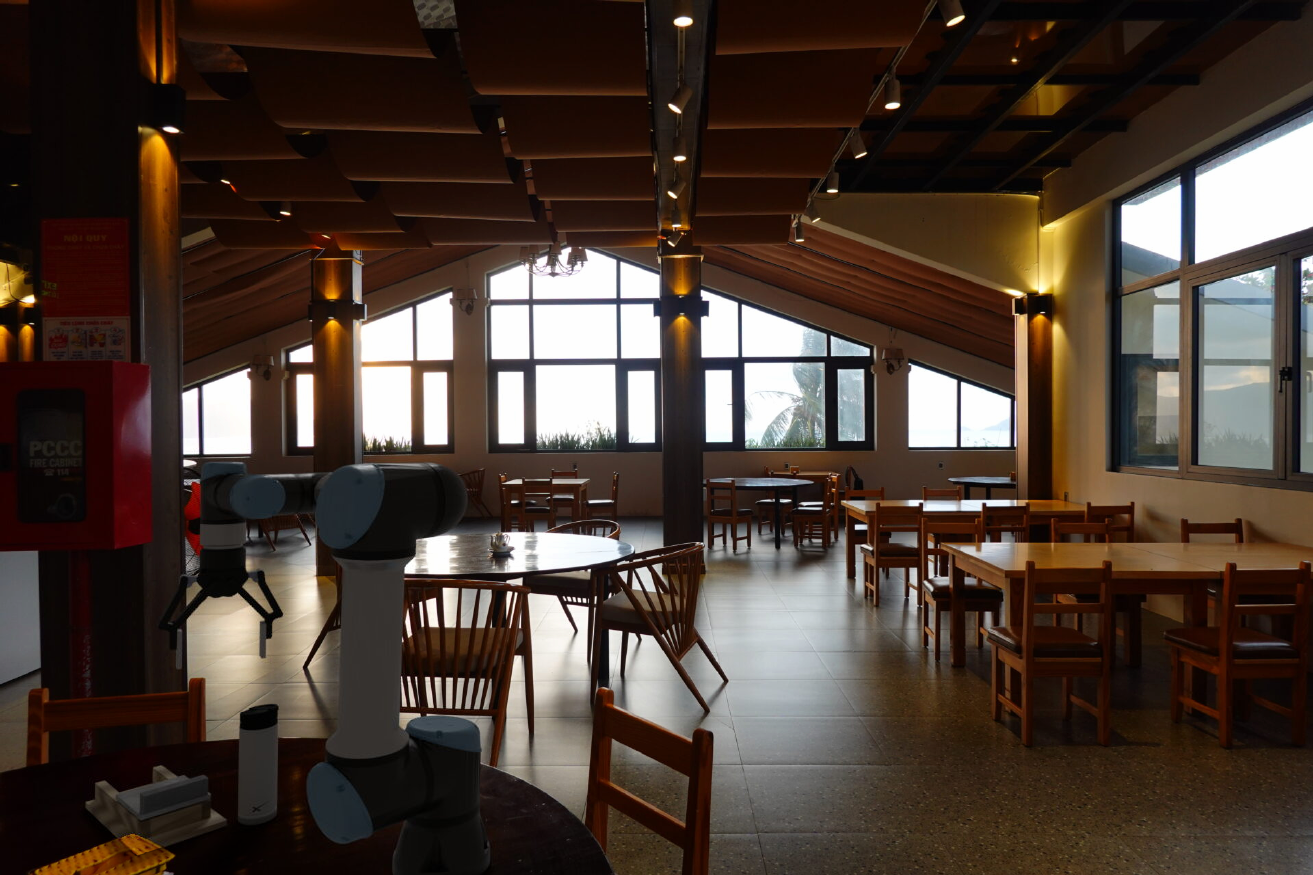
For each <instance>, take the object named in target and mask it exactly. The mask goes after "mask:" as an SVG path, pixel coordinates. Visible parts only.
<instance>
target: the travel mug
mask: <svg viewBox="0 0 1313 875" xmlns="http://www.w3.org/2000/svg"><path fill="white" fill-rule="evenodd" d="M279 709H280V706H279V705H278V704H276V703H267V704H266V703H264V704H259V705H255V706H252V707H249V708H248V709H245V710H244V711H240V713H239V728H238V733H239V734H238V737H239V738H238V787H237V788H238V790H237V791H238V792H237V793H238V794H237V795H238V797H237V800H238V801H237V802H238V803H237V821H238V823H240V824H241V825H243V826H257V825H262V824H265V823H268V822H269V821H271V820H273V819H274V818H275V817H276V816H277V814H278V813H277V812H278V806H277V805H278V765H279V764H278V763H279V761H278V756H279V753H278V752H279V751H278V748H279V746H278V745H279V719H278V717H279Z"/></svg>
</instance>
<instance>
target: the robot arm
mask: <svg viewBox="0 0 1313 875" xmlns="http://www.w3.org/2000/svg"><path fill="white" fill-rule="evenodd" d="M200 469H201V470H200V471H201V472H200V480H199V487H200V490H199V491H200V493H199V494H200V498H199V499H200V501H199V504H200V505H199V506H200V507H199V508H200V509H199V510H200V512H199V513H200V518H199V519H200V520H199V522H200V523H199V544H200V545H201V546H202V547H201V548H200V549H199V571H198V573H197V575H187V574H184V573H182V574H180V576H179V578H178V583H177V584H178V585H177V588H176V589H175V591H174V593H173V594H172V597H171V598H170V600H169V602H168V604H167V606H166V607H165V609H164V610H163V612H162V615H160V616H161V617H160V618H159V619H158V622H157V629H158V630H160V631H166V632H168V648H169V650H170V651H175V667H176V668H175V669H176V670H181V669H183V630H182V629H181V626H182V625H183V624H185V622H186V621H187V620H188V619H189V618H190V617H191V616H192V615H193V614H194V612H195V611H196V610H197V609H198V608H199V607H200V606H201V604H203V603H204V602H205V601H206V600H207V599H208V598H213V599H219V598H222V597H226V598H233V597H234V596H236V595H237V594H238V595H239V596H240V597H241V598H242V599H244V601H245V602H246V603H247V604H249V606H250V607H251V608H253V610H254V611H255V612H256V613H258V615H260V617H261V618H263V620H259V644H258V646H259V647H258V648H259V649H258V650H259V652H258V653H259V655H258V656H259V657H260V659H266V658H267V640H270V639H272V638H273V624H274V623H273V622H274V621H276V620H277V619H280V618H283V617H284V612H283V610H282V609H281V607H280V605H279V603H278V601H277V600H276V597H275V596H274V594H273V593H272V590H271V589H270V587H269V585H268V584H267V582H266V574H265V571H264V570H263V569H262V568H257V569H256V570H251V571H247V568H246V567H247V547H245V546H244V544H246V543H247V518H248V520H249V519H250V520H256V519H258V520H261V519H263V520H264V519H269V518H272V517H278V516H291V515H292V516H293V515H301V514H303V515H304V514H315V527H316V528H317V529H318V536H319V538H320V540H321V542H322V543H323V544H325V545H326V546H328V547H329V548H332V550H331V552H332V553H331V558H332V559H333V560H334V561H336V562H337V564H338V565H339V566H341V568H342V582H341V583H342V584H341V611H340V612H341V613H340V614H341V615H340V638H339V639H340V640H339V641H340V642H339V644H340V645H339V668H338V669H339V672H338V673H339V674H338V675H339V676H338V677H339V678H338V698H337V699H338V701H337V702H338V703H337V730H336V731H335V732H334V733H333V734H332V735H331V736H329V738H328V739H327V740H326V742H325V753H324V754H325V755H324V758H325V759H324V761H322V762H319V763H317V764H316V765H315V766H313V767H312V768H311V769H310V770H309V772H308V775H307V779H306V795H307V796H306V797H307V802H308V805H309V809H310V812H311V815H312V817H313V819H314V820H315V822H316V825H317V826H318V828H319V829H320V831H321V832H322V833H323V834H324V836H326V837H327V838H328V839H329V840H330V841H332V842H335V843H336V844H342V845H343V844H349V843H353V842H355V841H358V840H360V839H368V838H370V837H371V836H372V835H374V834H376V833H378V832H380V831H383V830H385V829H388V828H390V827H393V826H395V825H397V824H400V823H402V822H403V825H402V828H401V832H400V834H399V837H398V839H397V840H398V841H397V844H396V848H395V850H394V852H393V855H392V868H391V869H392V871H391V872H392V875H483V874H484V873H485V872H486V870H487V869H488V868H489V866H490V863H491V846H490V845H491V844H490V842H489V838H488V835H487V831H486V829H485V826H484V823H483V819H482V816H481V812H480V811H481V810H480V807H481V806H480V805H481V804H480V803H481V765H482V764H481V761H482V756H481V755H482V752H483V748H482V744H481V732H480V731H481V730H480V728H479V727H478V725H477V724H476V723H474V722H473V721H472V720H469V719H467V718H464V717H459V716H451V715H425V716H418V717H414V718H412V719H411V720H409V721H408V722H407V724H406V727H405V728H404V729H403V727H401V726H400V714H401V713H400V711H401V685H402V684H401V682H402V655H403V654H402V653H403V628H404V627H403V624H404V603H405V602H404V601H405V600H404V598H405V570H406V567H407V565H408V564H409V563H410V562H411V561H412V560H414V558H416V556H417V540H422V539H423V540H424V539H427V538H428V539H429V538H434V537H439V536H441V535H443V534H446V533H447V532H450V530H452V529H454V528H455V527H456V526H457V525H458V524H459V522H460V521H461V520H462V518H463V517H464V515H465V513H466V511H467V506H468V498H469V497H468V490H467V488H466V485H465V483H464V481H463V479H462V478H461V476H460V475H459V474H458V473H457V472H455V471H454V470H453V469H452V468H449V467H448V466H445V465H443V464H439V463H436V462H401V463H400V462H394V463H393V462H392V463H391V462H387V463H386V462H385V463H383V462H382V463H380V462H379V463H376V462H375V463H374V462H369V463H367V462H363V463H358V464H357V463H356V464H348V465H344V466H341V467H339V468H337V469H335V470H334V471H325V472H306V473H305V472H304V473H303V472H302V473H268V474H267V473H265V474H261V473H259V474H249V473H248V468H247V465H246V463H245V462H242V461H210V462H205V463H204V464H202V465H201V468H200ZM249 579H251V580H252V582H254V583H257V585H258V587H259V588H260V590H261V592H262V594H263V596H264V598H265V599H266V601H267V603H268V605H269V606H270V608H271V610H272V612H269V611H267V609H265V608H264V607H263V606H262V605H261V604H260V603H259V602H258V601H257V600H256V599H255V598H254V597H253V596H252V595H251V594H250V593H249V591H248V590H246V589H245V588H244V585H245V584H246V583H247V581H248V580H249ZM194 583H197V585H199V587H200V588H201V589H200V590H199V591H198V592H197V593H196V595H195V596H194V597H193V598H192V599H191V601H190V602H189V603H188V604H187V605H186V606H185V607H184V608H183V610H182V611H180V612H179V614H178V615H177V616H176V617H175V619H173V621H171V622H170V620H171V619H172V617H173V615H174V613H175V611H176V609H177V608H178V607H179V605H180V603H181V601H182V599H183V597H184V595H185V593H186V592H187V589H189V588H191V587H192V586H193V584H194Z"/></svg>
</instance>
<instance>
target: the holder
mask: <svg viewBox="0 0 1313 875" xmlns="http://www.w3.org/2000/svg"><path fill="white" fill-rule="evenodd" d="M176 777H178V775H176V774H174V773H173V772H172V771H171V770H169V769H167V767H165V766H163V765H158V766H153V767H152V782H151V783H148V784H145V785H141V786H137V787H135V788H131V789H127V790H124V791H120V792H119V791H118V790H117V789H116V788H114V787H113V786H112V785H110V784H109V783H108V782H107V781H106V780H102V781H99V782H95V783H94V784H95V786H94V787H95V788H94V791H95V792H94V799H92V800H89V801H88V800H87V801H85V806H84V807H85V809H86V810H87V811H88V812H89V813H90V814H91V815H93V816H94V817H95V818H96V820H98V821H99V822H100V823H101V824H102V825H103V826H104V827H105V828H106V829H107V830H108V831H109V832H111V833H112V835H113V836H115V838H117V839H118V838H122V837H124V836H126V835H130V834H135V835H139V836H140V837H143V838H145V839H148V840H150V841H152V842H154V843H155V844H158V845H160V846H163V848H165V847H168V846H171V845H174V844H177V843H180V842H183V841H185V840H188V839H192V838H194V837H198V836H200V835H203V834H207V833H210V832H213V831H215V830H218V829H221V828H224V827H227V826H228V823H227V822H228V819H227V818H225V817H224V816H222V815H221V814H219V813H218V812H217V811H215V810H214V809H212V800H211V799H208V800H205V801H202V802H198V803H195V804H192V805H189V806H186V807H182V808H179V809H176V810H173V811H169V812H166V813H163V814H160V815H157V816H153V817H150V818H147V819H144V820H140V819H138V818H137V817H136V816H135V815H134V814H133V813H131V812H130V811H129V810H128V809H127V808H126V807H125V806H123V805H122V804H121V803H120V802H119V801H118V800H116V794H119V793H123V792H126V791H130V790H133V789H137V788H140V787H144V786H147V785H151V784H154V783H158V782H162V781H165V780H169V779H172V778H176Z"/></svg>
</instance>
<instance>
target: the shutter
mask: <svg viewBox="0 0 1313 875" xmlns="http://www.w3.org/2000/svg"><path fill="white" fill-rule="evenodd" d="M150 784H151V785H148V784H146V785H147V786H145V785H143V786H144V787H141V786H139V787H140V788H137V787H136V788H137V789H134V788H132V789H133V790H130V789H129V790H130V791H127V790H125V791H126V792H123V791H122V792H123V793H120V792H119V794H116V800H118V801H119V802H120V803H121V804H122V805H123V806H125V807H126V808H127V809H128V810H129V811H130V812H131V813H133V814H134V815H135V816H136V817H137V818H138V819H140V820H144V819H147V818H150V817H153V816H157V815H160V814H163V813H166V812H169V811H173V810H176V809H179V808H182V807H186V806H189V805H192V804H195V803H198V802H202V801H205V800H208V799H209V800H211V799H212V793H211V792H209V777H207V776H206V775H205V774H201V775H198V776H195V777H191V778H189V777H187V775H185V774H183V775H180V776H177V777H176V778H172V779H169V780H165V781H162V782H158V783H154V784H152V783H150Z"/></svg>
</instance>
